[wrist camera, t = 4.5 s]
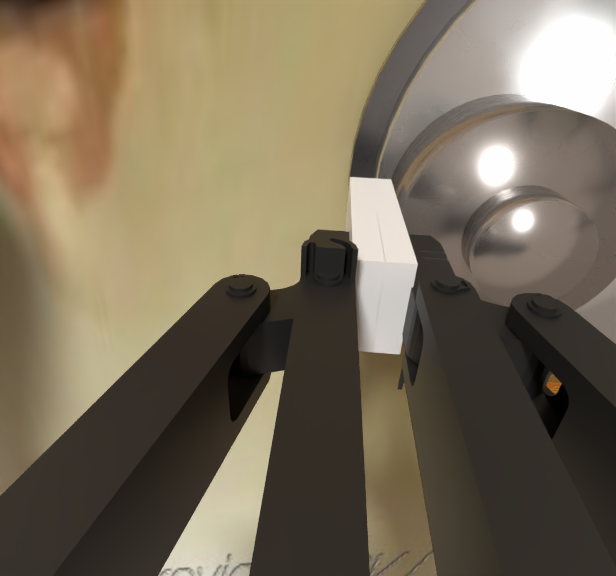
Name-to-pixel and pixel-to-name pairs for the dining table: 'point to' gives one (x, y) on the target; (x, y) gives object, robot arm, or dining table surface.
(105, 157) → the dining table surface
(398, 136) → the turntable
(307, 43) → the dining table surface
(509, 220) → the cover
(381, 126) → the turntable base
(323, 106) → the dining table surface
